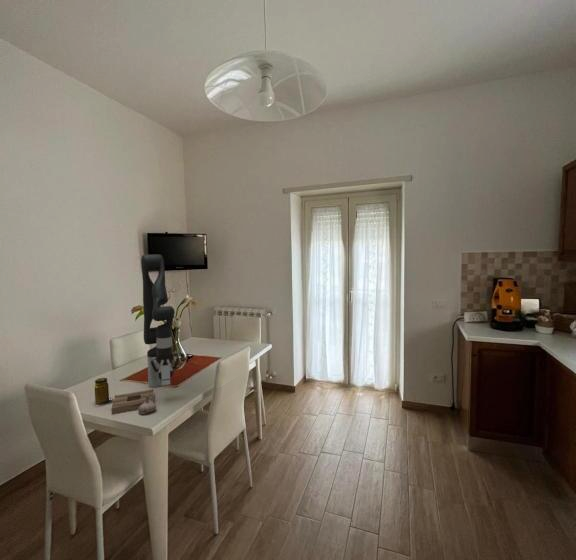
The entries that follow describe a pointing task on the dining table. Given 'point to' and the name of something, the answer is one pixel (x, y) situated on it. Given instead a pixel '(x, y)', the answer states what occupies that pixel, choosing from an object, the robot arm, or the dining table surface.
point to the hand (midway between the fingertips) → (165, 378)
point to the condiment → (102, 392)
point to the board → (131, 401)
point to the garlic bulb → (147, 406)
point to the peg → (165, 374)
